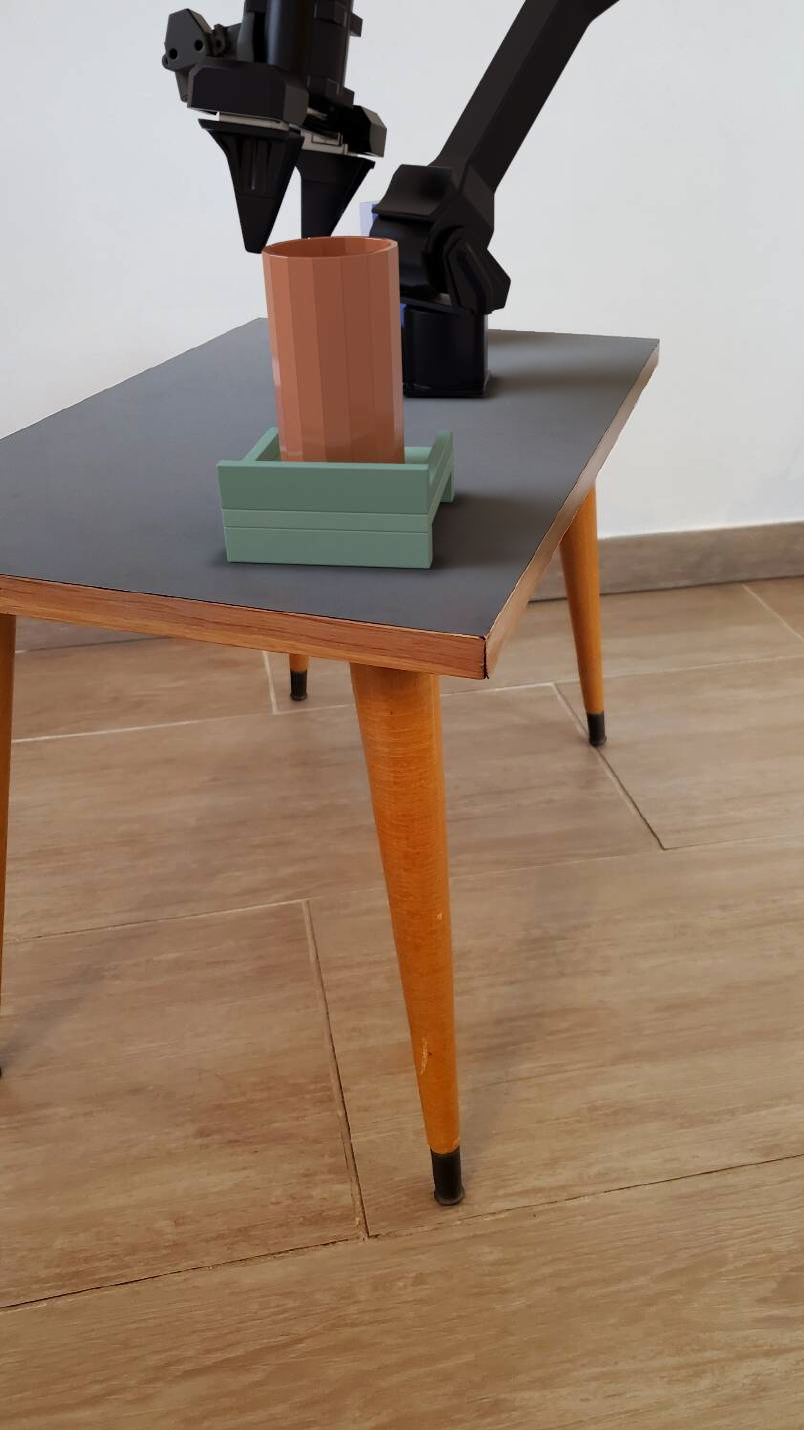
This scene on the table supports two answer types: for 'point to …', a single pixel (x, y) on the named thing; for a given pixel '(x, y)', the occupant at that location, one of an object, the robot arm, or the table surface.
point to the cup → (336, 348)
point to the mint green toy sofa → (334, 507)
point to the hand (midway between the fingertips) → (283, 256)
